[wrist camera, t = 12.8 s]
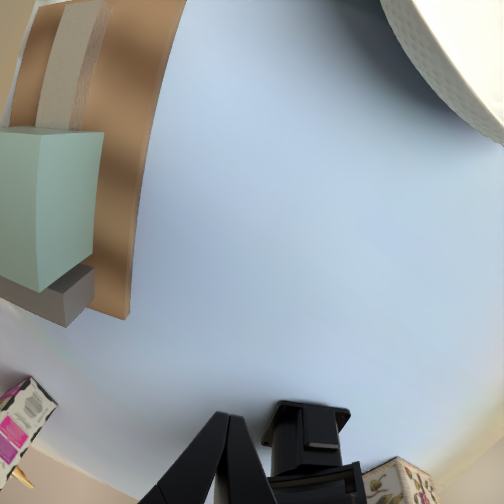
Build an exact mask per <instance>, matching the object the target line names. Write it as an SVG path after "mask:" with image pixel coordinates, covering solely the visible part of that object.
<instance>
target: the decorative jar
mask: <svg viewBox="0 0 504 504" xmlns="http://www.w3.org/2000/svg"><path fill="white" fill-rule="evenodd" d="M362 478H363V483H364V488H365V493H366V499H367V504H440V501H439V498H438V494H437V491H436V488H435V486H434V483H433V480H432V478H431V476H430V475H428V474H426V473H425V472H423V471H421V470H419V469H418V468H416V467H414V466H413V465H411V464H409V463H407V462H406V461H404V460H403V459H401V458H400V457H397V458H395V459H393V460H392V461H390V462H388V463H386V464H384V465H382V466H380V467H378V468H376V469H374V470H372V471H370V472H368V473H366V474H364V475H362Z"/></svg>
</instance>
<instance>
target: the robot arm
mask: <svg viewBox="0 0 504 504" xmlns="http://www.w3.org/2000/svg"><path fill="white" fill-rule="evenodd" d="M350 417H351V414H350V411H349V410H346V409H337V408H328V407H320V406H313V405H306V404H299V403H293V402H287V401H282V402H280V403H279V404H278V406H277V408H276V410H275V412H274V414H273V416H272V418H271V421H270V423H269V425H268V427H267V429H266V431H265V433H264V435H263V437H262V439H261V444H262V445H263V446H268V447H272V456H271V477H266V475H265V472H264V469H263V467H262V464H261V462H260V459H259V457H258V454H257V451H256V449H255V446H254V443H253V441H252V438H251V435H250V433H249V430H248V427H247V424H246V422H245V419H244V417H243V416H239V415H234V414H231V415H229V414H228V413H225V412H221V411H216V412H215V413H214V414H213V416H212V417H211V418H210V420H209V421H208V422H207V423H206V425H205V426H204V427H203V428H202V430H201V431H200V432H199V433H198V435H197V436H196V437H195V438H194V440H193V441H192V442H191V443H190V444H189V446H188V447H187V448H186V449H185V451H184V452H183V453H182V454H181V455H180V457H179V458H178V459H177V460H176V461H175V462H174V464H173V465H172V466H171V467H170V468H169V470H168V471H167V472H166V473H165V474H164V475H163V477H162V478H161V479H160V480H159V481H158V482H157V485H154V487H153V488H152V489H151V490H150V491H149V492H148V493H147V494H146V495H145V496H144V497H143V498H142V499H141V500H140V502H139V503H137V504H204V502H205V500H206V497H207V495H208V492H209V489H210V487H211V484H212V481H213V479H214V476H215V488H214V504H367V499H366V493H365V488H364V483H363V478H362V473H361V468H360V463H359V461H357V462H353V463H352V464H348V465H344V466H343V465H342V458H341V451H340V441H339V432H340V431H341V430H342V428H343V427H344V425H345V424H346V423H347V421H348V420H349V418H350ZM215 473H216V475H215Z"/></svg>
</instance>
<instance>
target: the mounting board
mask: <svg viewBox="0 0 504 504" xmlns="http://www.w3.org/2000/svg"><path fill="white" fill-rule="evenodd" d="M86 1H93V0H71V1H66V2H61V3H56V4H51V5H47V6H42V7H39V9H38V11H37V14H36V17H35V20H34V23H33V26H32V29H31V32H30V35H29V38H28V41H27V45H26V48H25V52H24V55H23V59H22V63H21V67H20V71H19V75H18V80H17V85H16V89H15V95H14V100H13V106H12V112H11V118H10V125H9V127H16V126H35V124H36V117H37V111H38V106H39V100H40V95H41V90H42V85H43V81H44V76H45V72H46V68H47V64H48V60H49V56H50V53H51V49H52V46H53V42H54V39H55V36H56V33H57V30H58V27H59V24H60V21H61V18H62V15H63V12H64V9H65V7H66V5H67V4H73V3H79V2H86ZM104 1H106V2H107V3H109V4H110V5H112V6H113V7H114V8H113V10H112V13H111V16H110V19H109V22H108V25H107V28H106V31H105V34H104V37H103V41H102V44H101V47H100V51H99V54H98V58H97V62H96V65H95V69H94V73H93V77H92V82H91V86H90V90H89V95H88V100H87V104H86V110H85V115H84V120H83V126H82V131H99V132H105V133H104V139H103V145H102V152H101V158H100V166H99V174H98V182H97V192H96V202H95V215H94V230H93V253H92V254H91V255H90V256H88V257H87V258H85V259H84V260H83V261H81V262H80V263H81V264H84V265H87V266H90V267H93V268H95V272H94V294H95V299H94V300H93V301H92V302H91V303H90V304H89V305H88V306H87V308H90V309H93V310H96V311H99V312H101V313H104V314H107V315H110V316H113V317H116V318H119V319H122V320H125V319H126V317H127V316H128V315H129V314H130V294H131V278H132V264H133V253H134V242H135V232H136V224H137V215H138V207H139V200H140V193H141V186H142V179H143V173H144V167H145V161H146V155H147V150H148V144H149V139H150V134H151V129H152V124H153V119H154V115H155V110H156V106H157V101H158V97H159V93H160V89H161V85H162V81H163V77H164V73H165V69H166V65H167V62H168V58H169V55H170V51H171V48H172V44H173V41H174V37H175V34H176V31H177V28H178V25H179V21H180V18H181V15H182V12H183V9H184V6H185V4H186V1H187V0H104Z"/></svg>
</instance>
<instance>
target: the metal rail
mask: <svg viewBox="0 0 504 504" xmlns="http://www.w3.org/2000/svg"><path fill="white" fill-rule="evenodd" d="M113 8H114V7H113V6H112V5H110V4H109V3H107V2H106V1H104V0H93V1H86V2H79V3H73V4H67V5H66V7H65V9H64V12H63V15H62V18H61V21H60V24H59V27H58V30H57V33H56V36H55V39H54V42H53V46H52V49H51V53H50V56H49V60H48V64H47V68H46V72H45V76H44V81H43V85H42V90H41V95H40V100H39V106H38V111H37V117H36V124H35V128H49V129H61V130H71V131H82V126H83V120H84V115H85V110H86V104H87V100H88V95H89V90H90V86H91V82H92V77H93V73H94V69H95V65H96V62H97V58H98V54H99V51H100V47H101V44H102V41H103V37H104V34H105V31H106V28H107V25H108V22H109V19H110V16H111V13H112V10H113Z"/></svg>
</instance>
